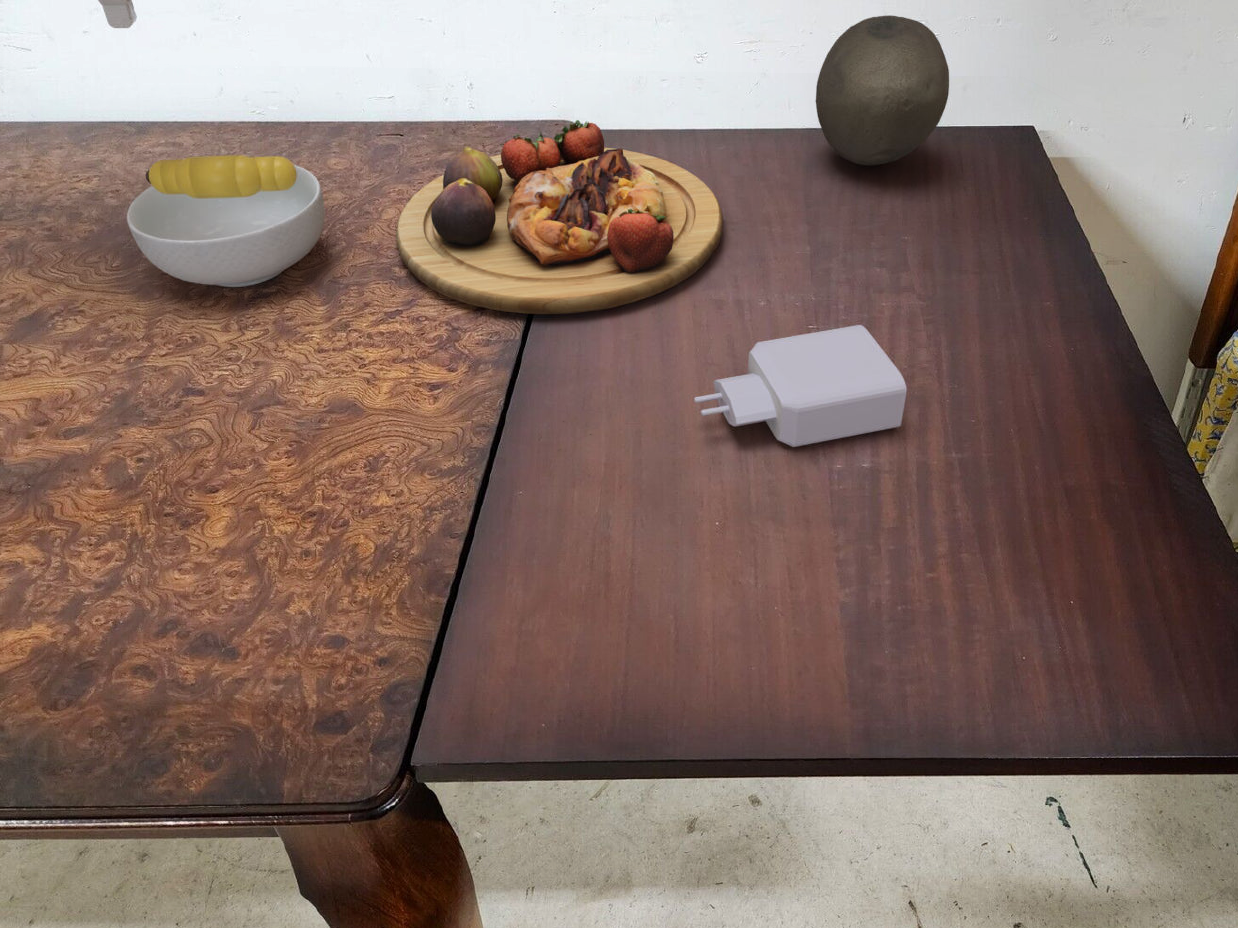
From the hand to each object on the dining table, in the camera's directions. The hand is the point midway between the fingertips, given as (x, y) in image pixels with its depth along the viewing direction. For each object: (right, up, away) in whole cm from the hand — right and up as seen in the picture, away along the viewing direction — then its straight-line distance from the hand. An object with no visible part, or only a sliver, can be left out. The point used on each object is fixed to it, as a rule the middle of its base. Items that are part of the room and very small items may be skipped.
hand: (142, 5), depth 89 cm
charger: (+53, -34, -3) cm, 63 cm away
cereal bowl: (+3, -18, +14) cm, 23 cm away
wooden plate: (+33, -14, +19) cm, 40 cm away
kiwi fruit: (+66, -3, +30) cm, 72 cm away
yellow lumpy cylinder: (+3, -13, +9) cm, 16 cm away
